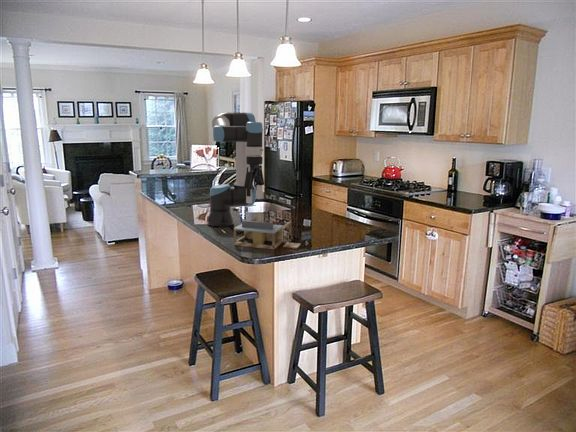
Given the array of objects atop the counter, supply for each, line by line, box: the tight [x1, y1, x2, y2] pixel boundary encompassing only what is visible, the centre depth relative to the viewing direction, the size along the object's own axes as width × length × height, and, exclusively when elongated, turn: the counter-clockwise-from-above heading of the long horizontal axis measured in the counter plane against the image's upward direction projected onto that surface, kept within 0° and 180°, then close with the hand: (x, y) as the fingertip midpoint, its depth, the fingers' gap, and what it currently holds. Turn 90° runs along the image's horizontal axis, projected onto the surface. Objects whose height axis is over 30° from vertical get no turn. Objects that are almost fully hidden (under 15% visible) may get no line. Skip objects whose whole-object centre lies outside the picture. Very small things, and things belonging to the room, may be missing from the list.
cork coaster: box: [282, 241, 302, 249], centre depth 215 cm, size 7×7×1 cm
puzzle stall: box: [233, 217, 292, 250], centre depth 224 cm, size 21×28×8 cm
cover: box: [233, 219, 284, 234], centre depth 216 cm, size 21×14×4 cm, turn 73°
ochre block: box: [252, 232, 266, 245], centre depth 217 cm, size 4×4×7 cm
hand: (254, 200), depth 207 cm, fingers open, 13 cm apart
